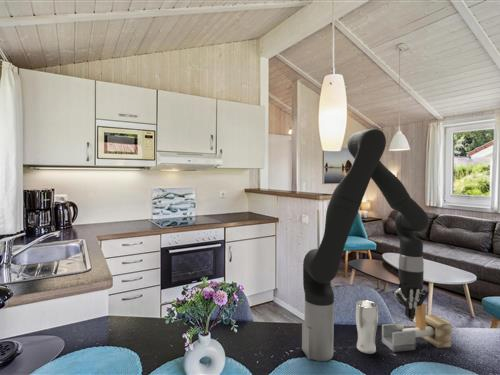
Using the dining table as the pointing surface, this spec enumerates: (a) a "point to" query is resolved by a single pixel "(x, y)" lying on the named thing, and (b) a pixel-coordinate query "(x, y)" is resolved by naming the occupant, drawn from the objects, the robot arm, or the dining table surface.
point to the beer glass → (366, 325)
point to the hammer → (421, 323)
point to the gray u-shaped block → (398, 337)
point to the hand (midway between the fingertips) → (410, 318)
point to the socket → (439, 331)
